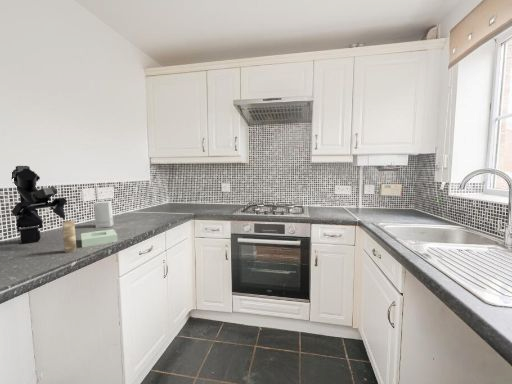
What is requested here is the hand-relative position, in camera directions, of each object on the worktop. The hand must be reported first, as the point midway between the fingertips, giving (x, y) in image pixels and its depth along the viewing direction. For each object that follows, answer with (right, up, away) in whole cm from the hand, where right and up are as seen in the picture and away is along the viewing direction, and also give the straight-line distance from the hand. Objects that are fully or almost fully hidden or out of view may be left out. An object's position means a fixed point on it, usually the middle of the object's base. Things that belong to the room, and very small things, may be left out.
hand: (53, 220), depth 101 cm
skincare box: (-7, -10, +45) cm, 46 cm away
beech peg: (+8, -13, 0) cm, 15 cm away
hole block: (+10, -12, +14) cm, 21 cm away
